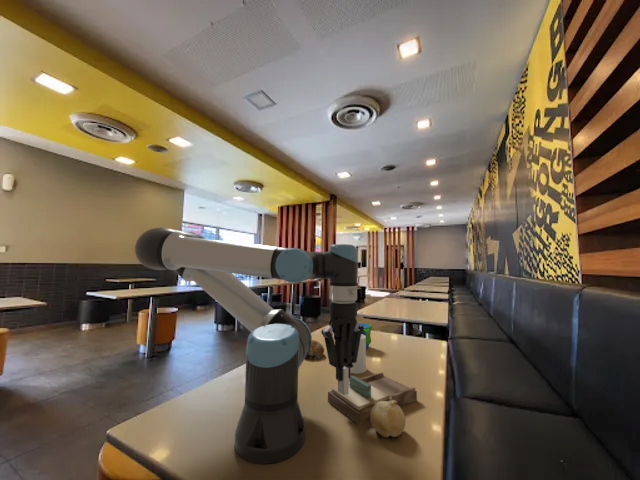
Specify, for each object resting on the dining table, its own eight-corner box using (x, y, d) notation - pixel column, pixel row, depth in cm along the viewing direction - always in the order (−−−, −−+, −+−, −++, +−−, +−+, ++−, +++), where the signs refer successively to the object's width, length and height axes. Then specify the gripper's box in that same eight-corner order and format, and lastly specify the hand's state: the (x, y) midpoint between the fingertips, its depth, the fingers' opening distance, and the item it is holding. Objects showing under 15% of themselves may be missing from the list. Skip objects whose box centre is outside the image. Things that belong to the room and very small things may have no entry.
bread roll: (326, 364, 112) (330, 344, 115) (314, 360, 104) (319, 339, 108) (306, 359, 117) (311, 341, 120) (294, 355, 109) (299, 335, 113)
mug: (347, 378, 90) (348, 342, 91) (331, 370, 97) (332, 336, 98) (371, 370, 97) (371, 336, 98) (354, 363, 104) (354, 331, 105)
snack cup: (344, 342, 130) (344, 321, 131) (364, 341, 133) (364, 321, 134) (355, 353, 115) (355, 329, 116) (378, 351, 117) (378, 328, 118)
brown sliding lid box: (358, 424, 64) (358, 409, 64) (327, 401, 75) (328, 388, 75) (416, 400, 76) (416, 387, 76) (382, 383, 87) (382, 371, 87)
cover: (358, 410, 65) (358, 394, 66) (332, 391, 74) (332, 377, 75) (389, 398, 71) (389, 383, 72) (361, 382, 80) (361, 369, 81)
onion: (401, 448, 56) (400, 413, 57) (365, 436, 60) (365, 403, 60) (408, 428, 63) (408, 397, 63) (376, 418, 67) (376, 389, 67)
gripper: (331, 305, 65) (331, 405, 63) (370, 301, 72) (371, 391, 70) (315, 301, 71) (314, 392, 69) (352, 298, 78) (352, 381, 76)
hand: (343, 392), depth 70 cm, fingers closed
